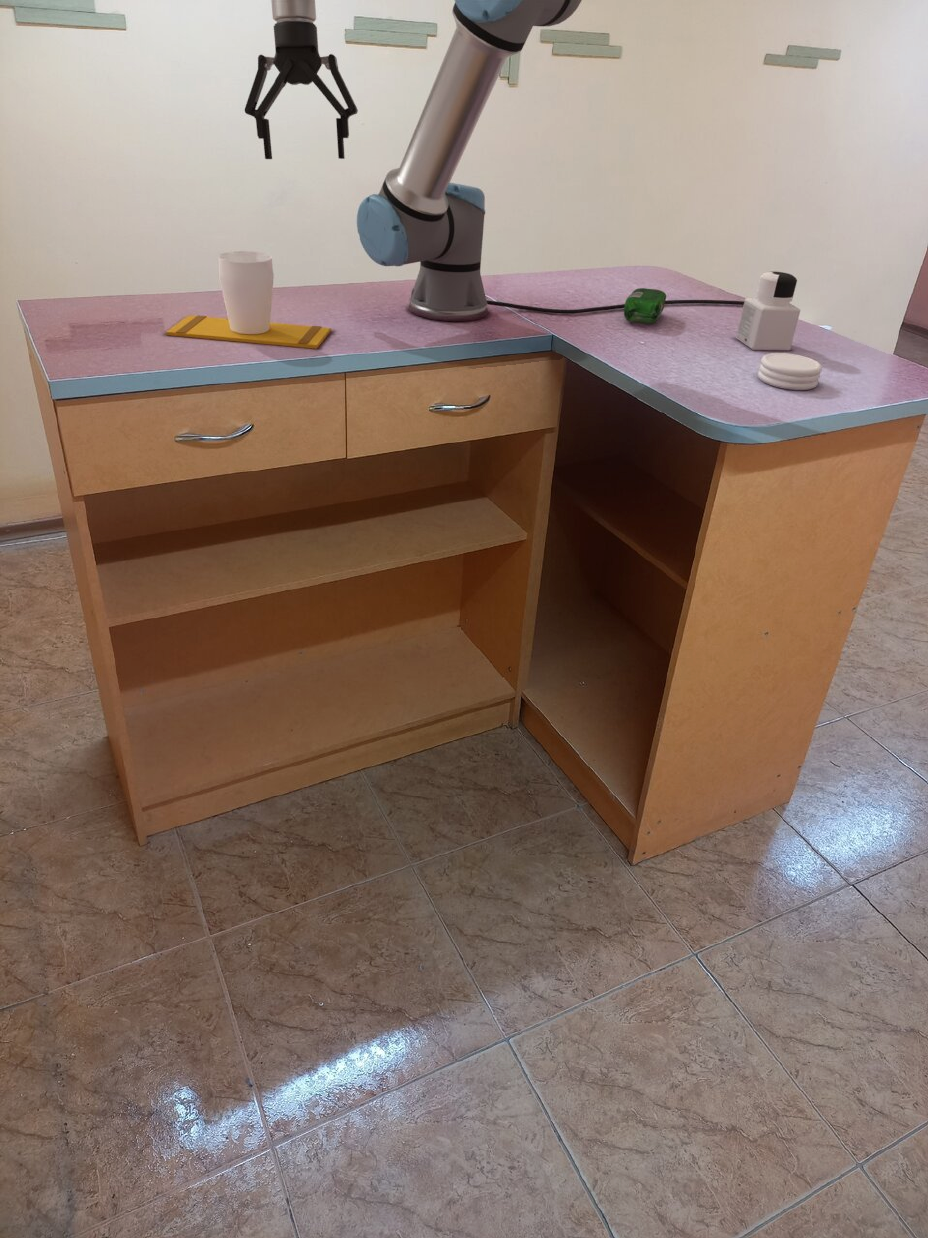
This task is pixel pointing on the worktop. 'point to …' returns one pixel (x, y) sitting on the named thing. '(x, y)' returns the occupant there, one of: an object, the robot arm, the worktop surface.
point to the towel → (273, 336)
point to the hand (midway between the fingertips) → (305, 158)
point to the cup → (247, 290)
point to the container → (770, 314)
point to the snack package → (644, 305)
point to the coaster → (789, 371)
